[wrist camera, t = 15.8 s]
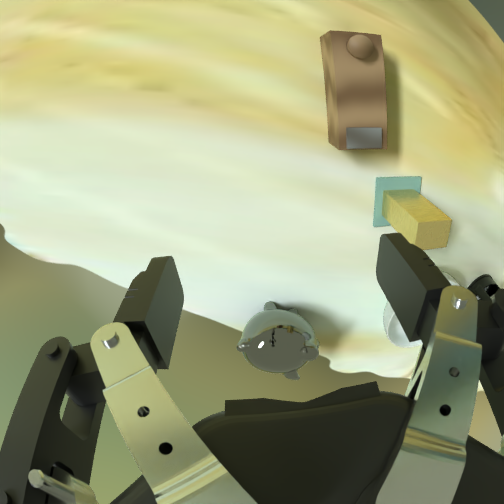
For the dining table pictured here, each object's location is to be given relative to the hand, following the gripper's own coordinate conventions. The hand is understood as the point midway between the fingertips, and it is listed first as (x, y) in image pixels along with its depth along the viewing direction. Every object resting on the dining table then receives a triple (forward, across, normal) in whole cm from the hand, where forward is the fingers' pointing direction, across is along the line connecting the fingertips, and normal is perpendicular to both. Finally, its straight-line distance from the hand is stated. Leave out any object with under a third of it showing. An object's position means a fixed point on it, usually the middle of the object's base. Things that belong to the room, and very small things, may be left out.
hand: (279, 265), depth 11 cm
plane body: (+30, -13, -6) cm, 33 cm away
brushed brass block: (+30, -21, +11) cm, 38 cm away
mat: (+30, -21, +11) cm, 38 cm away
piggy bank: (+30, 0, +32) cm, 44 cm away
